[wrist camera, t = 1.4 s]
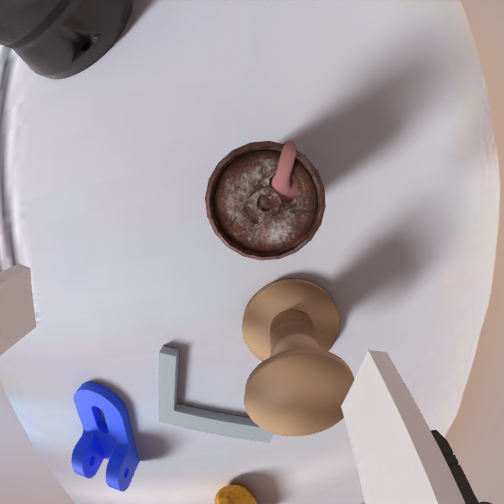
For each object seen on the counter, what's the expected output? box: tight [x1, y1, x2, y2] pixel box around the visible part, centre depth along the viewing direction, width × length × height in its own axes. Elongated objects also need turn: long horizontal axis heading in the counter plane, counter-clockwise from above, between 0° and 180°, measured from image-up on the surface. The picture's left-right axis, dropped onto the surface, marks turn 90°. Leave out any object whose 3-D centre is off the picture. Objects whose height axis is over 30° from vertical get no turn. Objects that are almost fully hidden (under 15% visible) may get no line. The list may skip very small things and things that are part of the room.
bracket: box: [72, 382, 139, 491], centre depth 33 cm, size 18×8×9 cm, turn 174°
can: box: [205, 141, 326, 260], centre depth 21 cm, size 6×6×14 cm
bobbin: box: [242, 279, 354, 436], centre depth 25 cm, size 10×10×12 cm
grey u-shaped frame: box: [159, 346, 273, 442], centre depth 33 cm, size 12×15×2 cm
